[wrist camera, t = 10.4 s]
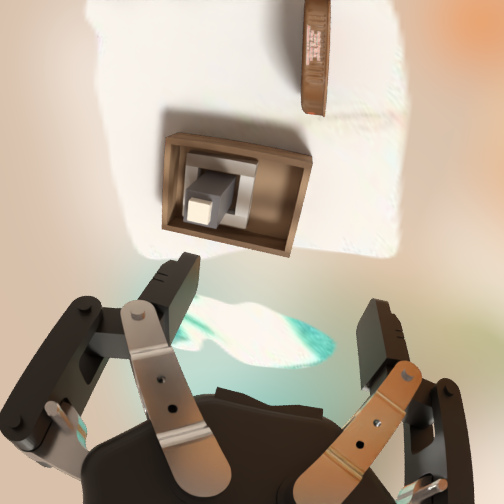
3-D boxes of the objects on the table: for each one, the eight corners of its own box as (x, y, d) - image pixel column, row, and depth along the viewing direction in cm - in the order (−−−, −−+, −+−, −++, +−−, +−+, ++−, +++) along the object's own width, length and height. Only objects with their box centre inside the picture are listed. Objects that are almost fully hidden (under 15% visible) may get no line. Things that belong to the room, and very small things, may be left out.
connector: (207, 170, 39) (182, 192, 31) (236, 175, 39) (217, 199, 31) (204, 197, 41) (180, 225, 33) (232, 203, 41) (213, 232, 33)
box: (178, 132, 38) (165, 137, 34) (312, 156, 36) (312, 163, 33) (172, 217, 44) (161, 229, 41) (290, 243, 43) (289, 257, 40)
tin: (325, 114, 34) (330, 120, 26) (299, 111, 34) (298, 116, 27) (330, 5, 26) (337, -17, 19) (305, 2, 26) (304, -21, 19)
